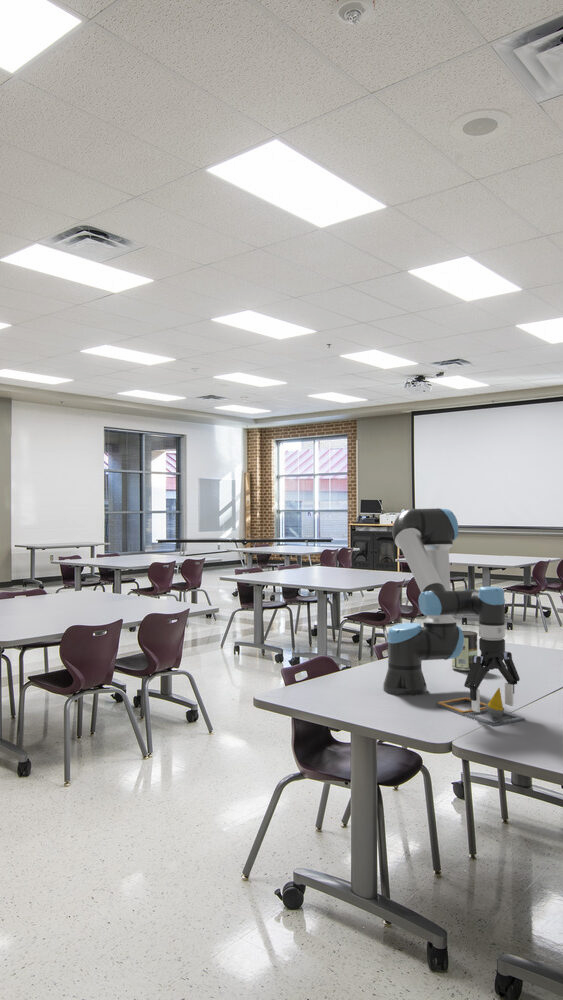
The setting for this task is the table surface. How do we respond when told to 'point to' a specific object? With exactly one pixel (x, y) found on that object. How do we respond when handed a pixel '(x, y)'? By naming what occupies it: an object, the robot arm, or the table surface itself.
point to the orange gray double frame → (470, 712)
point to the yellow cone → (495, 705)
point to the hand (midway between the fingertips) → (492, 708)
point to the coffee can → (466, 651)
